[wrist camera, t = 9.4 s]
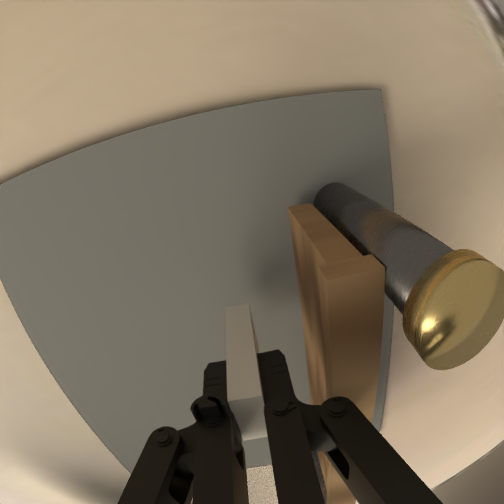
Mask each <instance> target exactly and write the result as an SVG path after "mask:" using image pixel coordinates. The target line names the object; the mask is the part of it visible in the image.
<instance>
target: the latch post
mask: <svg viewBox="0 0 504 504" xmlns="http://www.w3.org/2000/svg"><path fill="white" fill-rule="evenodd" d="M314 207H315V208H316V209H317V210H318V211H319V212H320V213H321V214H322V215H323V216H324V217H325V218H326V219H327V220H328V221H329V222H330V223H331V224H332V225H333V226H334V227H335V228H336V229H337V230H338V231H339V232H340V233H341V234H342V235H343V236H344V237H345V238H346V239H347V240H348V241H349V242H350V243H351V244H352V245H353V246H354V247H355V248H356V249H357V250H358V251H359V252H360V253H361V254H362V255H363V256H366V255H370V254H372V255H373V256H374V257H375V258H376V259H377V260H378V261H379V262H380V263H381V264H382V265H383V266H384V267H385V292H384V293H385V294H386V295H387V296H388V298H389V299H390V300H391V301H392V302H393V304H394V305H395V306H396V307H397V308H398V310H399V311H400V312H401V313H402V314H403V329H404V333H405V335H406V337H407V339H408V340H409V341H410V343H411V344H412V345H413V347H414V348H415V350H416V351H417V352H418V354H419V355H420V357H421V358H422V359H423V361H424V362H425V363H426V364H427V365H428V366H429V367H431V368H433V369H437V370H447V369H451V368H454V367H457V366H459V365H461V364H463V363H465V362H467V361H468V360H470V359H471V358H473V357H474V356H475V355H476V354H478V353H479V352H480V351H481V350H482V349H483V348H484V347H485V346H486V345H487V344H488V343H489V341H490V340H491V339H492V337H493V336H494V335H495V333H496V332H497V330H498V328H499V327H500V325H501V323H502V321H503V319H504V271H503V270H502V269H500V268H499V267H497V266H496V265H495V264H493V263H492V262H490V261H489V260H487V259H486V258H484V257H483V256H481V255H480V254H478V253H477V252H475V251H472V250H468V249H459V250H455V251H454V250H452V249H451V248H450V247H448V246H447V245H445V244H444V243H442V242H440V241H439V240H437V239H436V238H434V237H433V236H431V235H430V234H428V233H427V232H425V231H423V230H422V229H420V228H419V227H417V226H415V225H414V224H412V223H411V222H409V221H407V220H406V219H404V218H402V217H401V216H399V215H397V214H396V213H394V212H392V211H391V210H389V209H387V208H386V207H384V206H382V205H380V204H379V203H377V202H375V201H374V200H372V199H370V198H368V197H366V196H365V195H363V194H361V193H359V192H358V191H356V190H354V189H352V188H350V187H348V186H347V185H345V184H342V183H337V182H335V183H329V184H327V185H325V186H324V187H322V188H321V189H320V190H319V191H318V193H317V195H316V197H315V200H314Z"/></svg>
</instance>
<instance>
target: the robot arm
mask: <svg viewBox="0 0 504 504" xmlns="http://www.w3.org/2000/svg"><path fill="white" fill-rule="evenodd" d="M225 318H226V360H224V361H218V362H212V363H208V365H207V367H206V369H205V370H204V381H203V396H201V397H199V398H197V399H196V400H195V401H194V402H193V403H192V405H191V408H190V410H191V412H192V414H193V416H194V418H195V419H196V422H195V423H194V424H192V425H190V426H188V427H186V428H183V429H180V430H178V431H177V430H176V429H175V428H173V427H170V426H163V427H160V428H157V429H156V430H154V431H153V432H152V433H151V434H150V436H149V438H148V440H147V442H146V444H145V446H144V448H143V450H142V452H141V455H140V457H139V459H138V461H137V463H136V465H135V467H134V469H133V472H132V474H131V476H130V478H129V480H128V482H127V485H126V487H125V489H124V491H123V493H122V495H121V497H120V500H119V502H118V504H190V503H191V500H192V497H193V504H249V499H248V487H247V474H246V461H245V451H244V448H243V445H242V438H243V441H245V440H251V439H258V438H263V437H268V442H269V448H270V455H271V461H272V467H273V473H274V479H275V485H276V491H277V497H278V503H279V504H325V502H324V498H323V494H322V490H321V487H320V483H319V479H318V475H317V472H316V468H315V464H314V460H313V457H312V453H311V451H322V452H324V454H325V455H326V457H327V458H328V459H329V461H330V462H331V464H332V465H333V467H334V468H335V470H336V471H337V473H338V474H339V476H340V477H341V478H342V480H343V481H344V483H345V484H346V486H347V487H348V488H349V490H350V491H351V493H352V494H353V495H354V497H355V498H356V500H357V501H358V503H359V504H443V503H442V502H441V501H440V500H439V499H438V498H437V497H436V495H435V494H434V493H433V492H432V491H431V490H430V489H429V488H428V487H427V486H426V484H425V483H424V482H423V481H422V480H421V479H420V478H419V477H418V476H417V474H416V473H415V472H414V471H413V470H412V469H411V468H410V467H409V465H408V464H407V463H406V462H405V461H404V460H403V459H402V458H401V456H400V455H399V454H398V453H397V452H396V451H395V450H394V449H393V447H392V446H391V445H390V444H389V443H388V442H387V441H386V440H385V438H384V437H383V436H382V435H381V434H380V433H379V432H378V430H377V429H376V428H375V427H374V426H373V425H372V424H371V422H370V421H369V420H368V419H367V418H366V417H365V415H364V414H363V413H362V412H361V411H360V410H359V409H358V407H357V406H356V405H355V404H354V403H353V402H352V401H351V400H350V399H348V398H346V397H342V396H337V397H332V398H329V399H327V400H326V401H324V402H323V403H322V405H310V404H305V403H302V402H301V401H299V400H298V399H297V398H296V396H295V393H294V389H293V386H292V382H291V378H290V374H289V370H288V366H287V362H286V358H285V355H284V354H283V353H282V352H281V351H280V350H279V349H277V350H272V351H267V352H263V353H260V352H259V345H258V340H257V336H256V332H255V328H254V324H253V320H252V315H251V311H250V307H249V303H247V304H242V305H237V306H232V307H227V308H225ZM241 436H242V437H241Z"/></svg>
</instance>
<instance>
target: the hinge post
mask: <svg viewBox="0 0 504 504" xmlns="http://www.w3.org/2000/svg"><path fill="white" fill-rule="evenodd" d="M311 453H312V457H313V460H314V464H315V468H316V472H317V475H318V479H319V483H320V487H321V490H322V494H323V498H324V502H325V504H327V489H326V485H325V481H324V477H323V473H322V470H321V466H320V462H319V458H318V454H317V451H311Z"/></svg>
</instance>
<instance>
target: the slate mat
mask: <svg viewBox="0 0 504 504" xmlns="http://www.w3.org/2000/svg"><path fill="white" fill-rule="evenodd" d="M335 182H337V183H342V184H345V185H347V186H348V187H350V188H352V189H354V190H356V191H358V192H359V193H361V194H363V195H365V196H366V197H368V198H370V199H372V200H374V201H375V202H377V203H379V204H380V205H382V206H384V207H386V208H387V209H389V210H391V211H392V212H394V203H393V187H392V174H391V163H390V153H389V144H388V136H387V128H386V121H385V114H384V107H383V101H382V95H381V89H368V90H351V91H338V92H327V93H317V94H308V95H300V96H292V97H285V98H278V99H271V100H265V101H259V102H253V103H247V104H242V105H237V106H232V107H227V108H222V109H217V110H212V111H208V112H203V113H199V114H195V115H191V116H187V117H183V118H179V119H175V120H171V121H167V122H163V123H160V124H156V125H153V126H149V127H146V128H142V129H139V130H136V131H133V132H129V133H126V134H123V135H120V136H117V137H114V138H111V139H108V140H105V141H102V142H99V143H96V144H94V145H91V146H88V147H85V148H83V149H80V150H77V151H75V152H72V153H70V154H67V155H65V156H62V157H60V158H57V159H55V160H52V161H50V162H48V163H45V164H43V165H41V166H38V167H36V168H34V169H32V170H29V171H27V172H25V173H23V174H21V175H19V176H16V177H14V178H12V179H10V180H8V181H6V182H4V183H2V184H0V279H1V281H2V283H3V286H4V288H5V290H6V292H7V294H8V297H9V299H10V301H11V303H12V305H13V307H14V309H15V311H16V313H17V315H18V317H19V319H20V321H21V323H22V325H23V327H24V328H25V330H26V332H27V334H28V336H29V338H30V339H31V341H32V343H33V345H34V346H35V348H36V350H37V351H38V353H39V355H40V356H41V358H42V360H43V361H44V363H45V365H46V366H47V368H48V369H49V371H50V373H51V374H52V376H53V377H54V379H55V380H56V382H57V383H58V385H59V386H60V388H61V389H62V390H63V392H64V393H65V395H66V396H67V398H68V399H69V400H70V402H71V403H72V405H73V406H74V407H75V409H76V410H77V411H78V413H79V414H80V415H81V417H82V418H83V419H84V420H85V422H86V423H87V424H88V425H89V427H90V428H91V429H92V430H93V432H94V433H95V434H96V435H97V437H98V438H99V439H100V440H101V441H102V442H103V444H104V445H105V446H106V447H107V448H108V449H109V451H110V452H111V453H112V454H113V455H114V456H115V457H116V458H117V459H118V460H119V462H120V463H121V464H122V465H123V466H124V467H125V468H126V469H127V470H128V471H129V472H130V473H132V472H133V469H134V467H135V465H136V463H137V461H138V459H139V457H140V455H141V452H142V450H143V448H144V446H145V444H146V442H147V440H148V438H149V436H150V434H151V433H152V432H153V431H154V430H156V429H157V428H160V427H163V426H170V427H173V428H175V429H176V430H177V431H178V430H180V429H183V428H186V427H188V426H190V425H192V424H194V423H195V422H196V419H195V418H194V416H193V414H192V412H191V410H190V408H191V405H192V403H193V402H194V401H195V400H196V399H197V398H199V397H201V396H203V381H204V370H205V369H206V367H207V365H208V363H212V362H218V361H224V360H226V318H225V308H227V307H232V306H237V305H242V304H247V303H249V307H250V311H251V315H252V320H253V324H254V328H255V332H256V336H257V340H258V345H259V352H260V353H263V352H267V351H272V350H277V349H279V350H280V351H281V352H282V353H283V354H284V355H285V358H286V362H287V366H288V370H289V374H290V378H291V382H292V386H293V389H294V393H295V396H296V398H297V399H298V400H299V401H301V402H302V403H305V404H310V405H311V401H310V390H309V379H308V369H307V359H306V349H305V340H304V330H303V321H302V313H301V304H300V296H299V288H298V280H297V272H296V264H295V257H294V249H293V242H292V235H291V227H290V220H289V214H288V207H290V206H296V205H302V204H307V203H311V204H312V205H313V206H314V200H315V197H316V195H317V193H318V191H319V190H320V189H321V188H322V187H324V186H325V185H327V184H329V183H335ZM393 312H394V304H393V302H392V301H391V300H390V299H389V298H388V296H387V295H386V294H385V293H384V316H383V332H382V345H381V356H380V367H379V376H378V384H377V392H376V400H375V407H374V414H373V420H372V425H373V426H374V427H375V428H376V429H377V430H378V432H379V431H380V426H381V420H382V414H383V408H384V401H385V394H386V387H387V379H388V371H389V362H390V352H391V341H392V328H393ZM241 437H242V436H241ZM242 445H243V448H244V451H245V461H246V468H252V467H259V466H266V465H272V461H271V455H270V448H269V442H268V437H263V438H258V439H251V440H245V441H243V438H242Z"/></svg>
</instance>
